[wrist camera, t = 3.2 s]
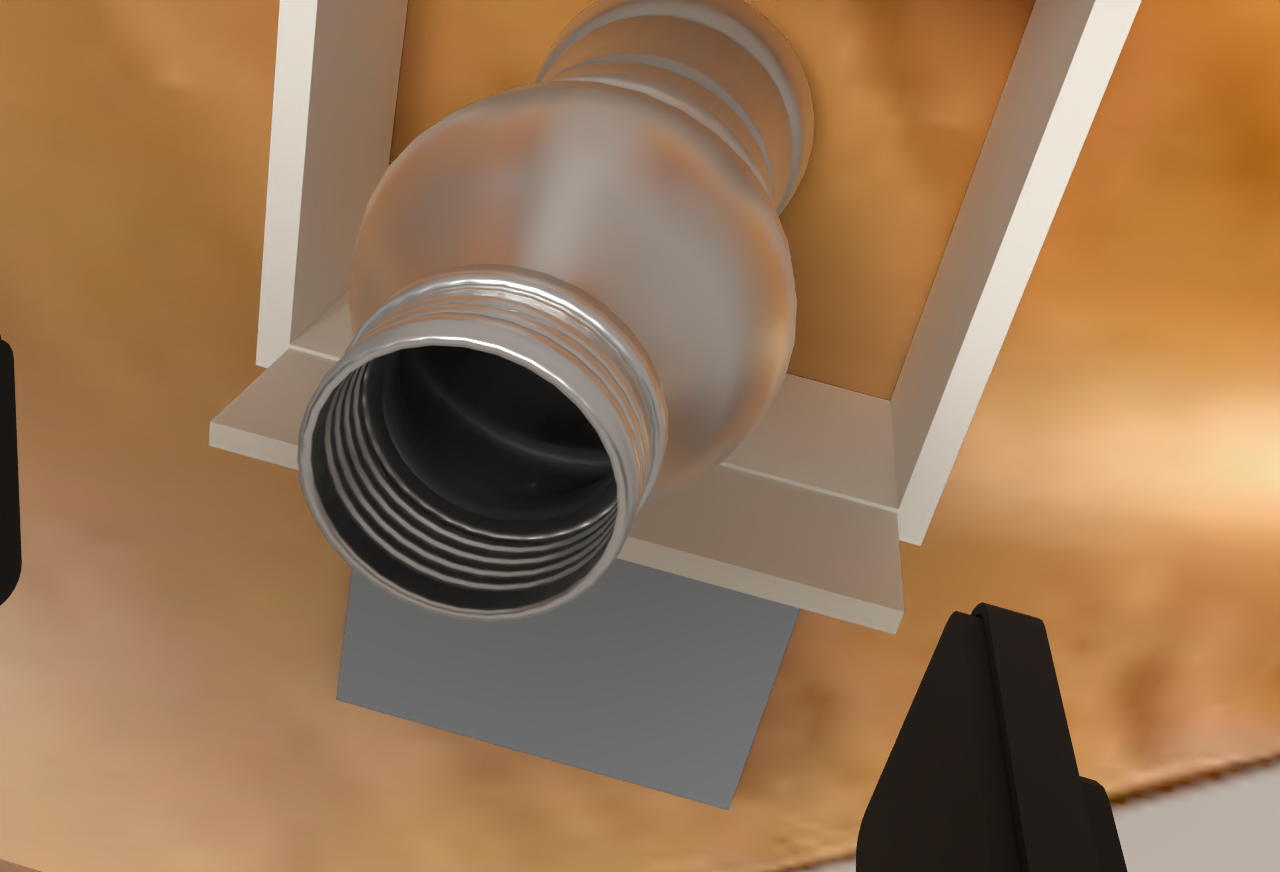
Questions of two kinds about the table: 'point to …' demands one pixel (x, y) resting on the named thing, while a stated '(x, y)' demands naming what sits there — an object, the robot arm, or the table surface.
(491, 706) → the mat
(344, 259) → the white rectangular open frame
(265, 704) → the table surface
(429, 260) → the plastic bottle
